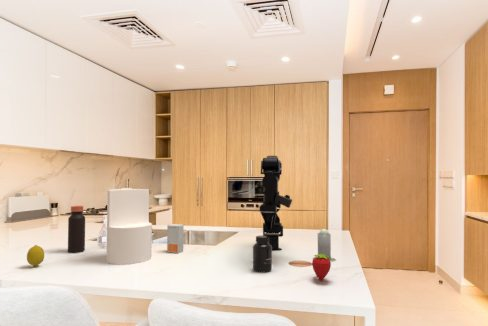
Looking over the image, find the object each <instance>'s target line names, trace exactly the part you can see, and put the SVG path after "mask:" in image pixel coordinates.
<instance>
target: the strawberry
mask: <svg viewBox="0 0 488 326" xmlns="http://www.w3.org/2000/svg"><path fill="white" fill-rule="evenodd" d="M323 251H324V250H323ZM323 251H322V252H323ZM314 257H315V258H314ZM314 257H313V258H314V259H313V258H312V262H311V263H312V270H313V272H314V273H315V275H316V277H317V279H318V280H319V281H320V282H323V280H324V279H325V278H326V277H327V275H328V274H329V273H330V269H331V267H332V264H331V263H332V262H330V260H329V259H328V258H326V257H329V256H325V255H322V254H319V255H318V254H314Z"/></svg>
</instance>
